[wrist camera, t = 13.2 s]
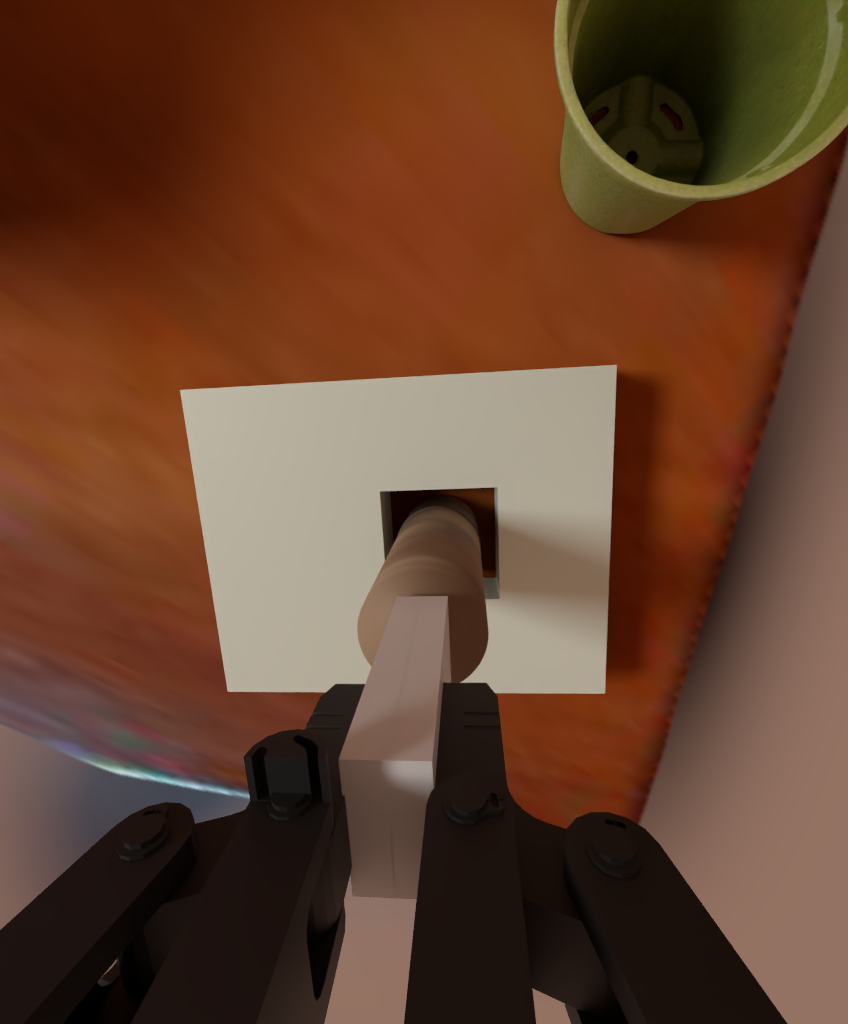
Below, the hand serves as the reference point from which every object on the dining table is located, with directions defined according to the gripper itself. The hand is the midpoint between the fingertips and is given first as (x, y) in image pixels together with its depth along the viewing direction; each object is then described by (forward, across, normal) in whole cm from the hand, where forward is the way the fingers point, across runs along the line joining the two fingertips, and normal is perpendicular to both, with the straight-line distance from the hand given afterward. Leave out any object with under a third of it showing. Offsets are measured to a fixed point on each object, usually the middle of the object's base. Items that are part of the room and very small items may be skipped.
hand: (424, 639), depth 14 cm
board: (+12, -2, 0) cm, 13 cm away
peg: (+12, 0, 0) cm, 12 cm away
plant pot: (+13, +9, +17) cm, 23 cm away
